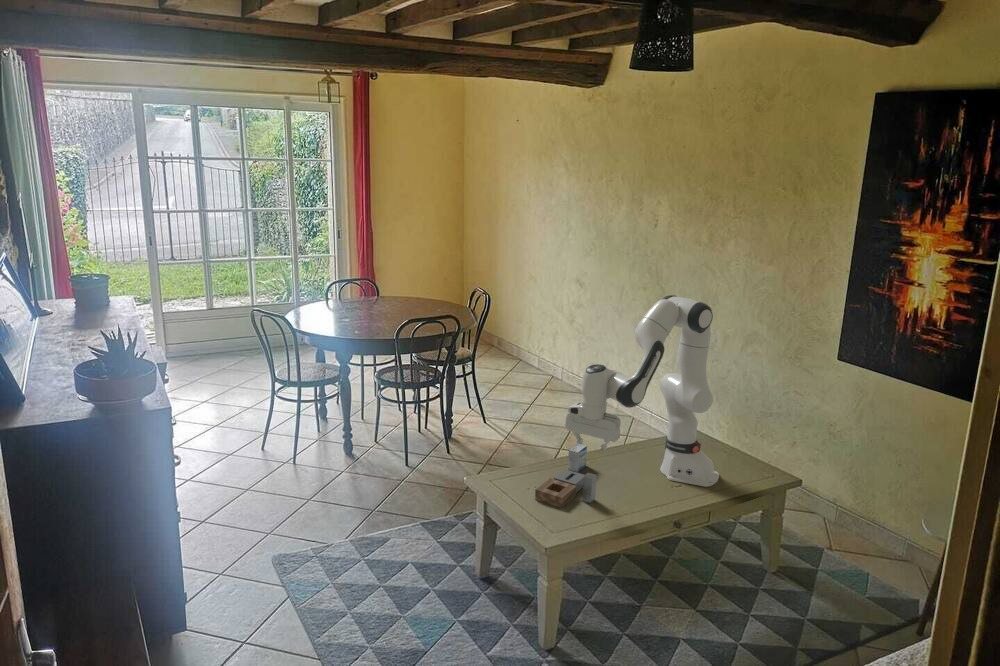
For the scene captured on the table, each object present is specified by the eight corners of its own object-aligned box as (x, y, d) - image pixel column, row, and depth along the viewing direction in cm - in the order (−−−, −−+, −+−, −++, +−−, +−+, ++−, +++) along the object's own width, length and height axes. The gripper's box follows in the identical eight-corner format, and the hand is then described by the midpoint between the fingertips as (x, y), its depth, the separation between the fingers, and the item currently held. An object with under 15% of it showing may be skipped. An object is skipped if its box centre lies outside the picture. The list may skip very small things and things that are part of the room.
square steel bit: (594, 500, 260) (596, 474, 258) (590, 503, 257) (592, 478, 255) (586, 497, 262) (587, 472, 259) (582, 501, 259) (583, 476, 257)
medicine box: (577, 472, 281) (578, 452, 279) (567, 470, 284) (568, 449, 282) (586, 465, 288) (587, 445, 286) (576, 462, 290) (577, 443, 288)
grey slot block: (585, 484, 272) (586, 475, 270) (574, 494, 264) (575, 484, 263) (564, 478, 276) (565, 469, 275) (553, 487, 269) (553, 477, 268)
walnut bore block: (575, 495, 263) (576, 485, 262) (561, 507, 254) (562, 497, 253) (549, 487, 269) (550, 478, 268) (535, 499, 260) (535, 489, 259)
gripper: (624, 414, 248) (622, 450, 251) (572, 401, 258) (570, 437, 262) (617, 419, 243) (614, 456, 246) (564, 406, 253) (562, 442, 257)
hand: (591, 446), depth 254 cm, fingers open, 8 cm apart
